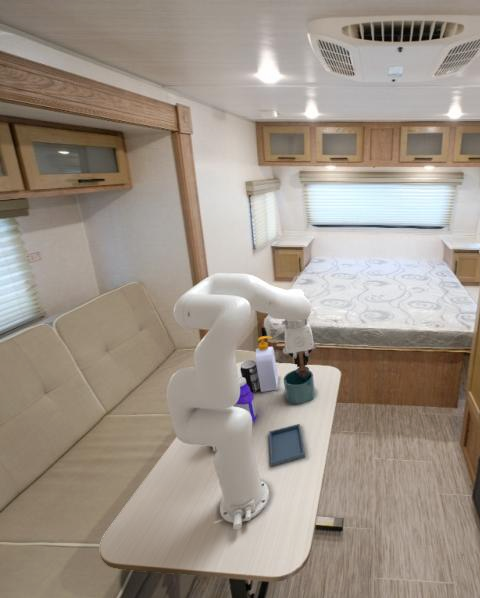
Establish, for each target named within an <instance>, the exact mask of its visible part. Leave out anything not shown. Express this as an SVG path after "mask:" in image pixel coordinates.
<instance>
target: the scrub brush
mask: <svg viewBox="0 0 480 598" xmlns="http://www.w3.org/2000/svg"><path fill="white" fill-rule="evenodd" d="M304 352H305V351H301V352H296V354H297V356H298V361H299V367H297V368H296V369H295V370H296V376H297V379H299V380H304V379H307V378H308V377H309V376H310V374H309V371H310V368H309V367H308V366H306V365H305V360H304Z"/></svg>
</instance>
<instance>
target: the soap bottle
mask: <svg viewBox="0 0 480 598" xmlns="http://www.w3.org/2000/svg"><path fill="white" fill-rule="evenodd" d="M265 339H266V340H267V339H268V340H269V339H270V340H272V339H273V337H272V336H270V335H264V336H260V337H257V342H259V341H260V342H259V343H258V346H257V347H258V348H256V349H255V356H254V357H255V362H256V366H257V372H258V377H259V382H260V392H262V393H263V392H264V393H265V392H271V391H277V390H278V385H279V374H278V367H277V361H276V355H275V350H274V347H273V346H269V343H268V342H267V341H265Z"/></svg>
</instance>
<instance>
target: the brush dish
mask: <svg viewBox="0 0 480 598" xmlns="http://www.w3.org/2000/svg"><path fill="white" fill-rule="evenodd" d="M268 433H269V452H270V465H271V467H275V466H279V465H282V464H286V463H290V462H292V461H296V460H299V459H303V458H305V457H306V453H305V452H306V451H305V447H304V441H303V434H302V429H301V424H300V423H297V424H293V425H289V426H286V427H281V428H277V429H274V430H269V431H268Z"/></svg>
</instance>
